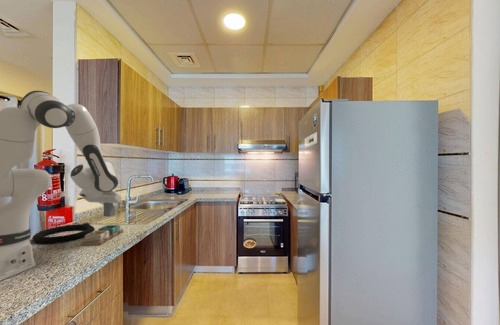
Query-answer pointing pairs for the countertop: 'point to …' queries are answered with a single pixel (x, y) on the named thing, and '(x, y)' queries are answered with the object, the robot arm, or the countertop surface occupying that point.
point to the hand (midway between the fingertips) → (110, 205)
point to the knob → (109, 209)
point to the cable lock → (59, 239)
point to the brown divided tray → (102, 235)
